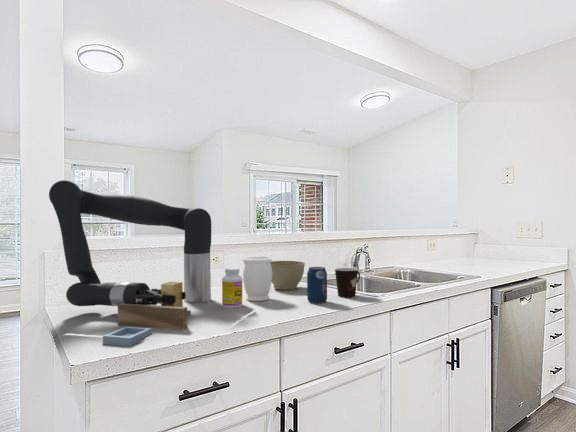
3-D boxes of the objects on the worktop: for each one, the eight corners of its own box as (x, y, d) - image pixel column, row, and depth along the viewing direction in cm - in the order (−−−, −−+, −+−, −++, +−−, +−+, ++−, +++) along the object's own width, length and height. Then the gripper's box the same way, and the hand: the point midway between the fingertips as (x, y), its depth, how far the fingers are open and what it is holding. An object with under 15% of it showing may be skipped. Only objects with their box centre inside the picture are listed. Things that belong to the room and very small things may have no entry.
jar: (238, 301, 142) (238, 259, 142) (250, 295, 151) (249, 256, 152) (265, 303, 138) (265, 259, 138) (276, 297, 148) (276, 257, 148)
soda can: (328, 304, 136) (327, 268, 136) (307, 304, 136) (307, 269, 136) (326, 300, 143) (325, 266, 143) (306, 300, 143) (306, 266, 143)
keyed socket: (126, 333, 103) (126, 326, 103) (151, 335, 101) (151, 328, 101) (102, 343, 94) (102, 335, 94) (130, 345, 92) (130, 338, 92)
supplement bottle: (235, 310, 128) (235, 270, 128) (218, 308, 131) (218, 269, 131) (246, 305, 134) (245, 267, 134) (229, 304, 137) (229, 266, 137)
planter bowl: (284, 293, 156) (284, 265, 156) (258, 288, 168) (258, 262, 168) (313, 288, 166) (312, 262, 167) (287, 283, 178) (286, 259, 178)
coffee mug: (340, 298, 144) (340, 271, 144) (331, 294, 153) (331, 268, 153) (369, 296, 148) (369, 269, 148) (359, 292, 156) (358, 267, 156)
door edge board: (122, 325, 111) (122, 303, 111) (187, 329, 106) (187, 307, 106) (117, 327, 109) (117, 305, 109) (183, 331, 104) (183, 308, 104)
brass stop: (170, 314, 120) (170, 281, 120) (182, 315, 119) (182, 282, 119) (161, 318, 115) (161, 284, 115) (173, 319, 114) (173, 284, 114)
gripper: (113, 286, 114) (166, 288, 109) (144, 279, 128) (192, 280, 123) (114, 312, 114) (166, 316, 109) (144, 302, 128) (192, 305, 123)
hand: (179, 297), depth 116 cm, fingers closed on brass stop, 5 cm apart
